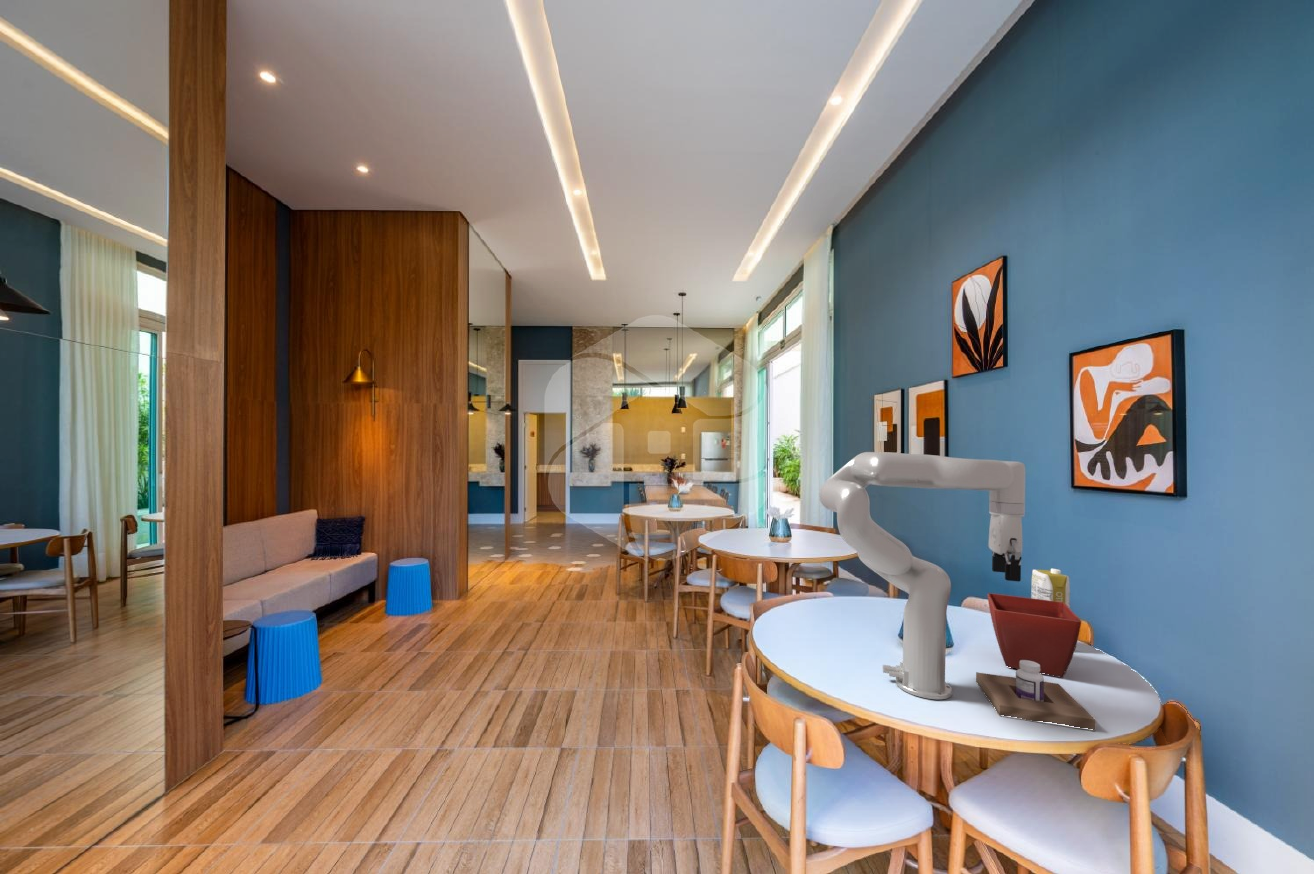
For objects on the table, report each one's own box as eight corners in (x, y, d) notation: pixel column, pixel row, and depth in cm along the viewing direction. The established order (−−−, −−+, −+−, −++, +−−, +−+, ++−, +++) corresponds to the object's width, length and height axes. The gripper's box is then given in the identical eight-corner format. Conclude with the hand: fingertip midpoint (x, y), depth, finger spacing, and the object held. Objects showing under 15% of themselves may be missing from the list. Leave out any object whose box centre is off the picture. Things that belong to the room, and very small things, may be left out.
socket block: (999, 716, 116) (999, 704, 116) (976, 681, 133) (976, 672, 133) (1095, 731, 110) (1095, 719, 110) (1058, 693, 128) (1058, 683, 128)
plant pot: (993, 670, 141) (994, 608, 141) (986, 646, 158) (987, 592, 158) (1081, 686, 132) (1082, 621, 132) (1064, 660, 149) (1064, 602, 149)
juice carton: (1073, 652, 155) (1074, 573, 155) (1044, 650, 156) (1045, 571, 157) (1054, 641, 164) (1055, 566, 165) (1027, 638, 165) (1028, 564, 166)
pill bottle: (1031, 698, 125) (1032, 658, 125) (1049, 710, 119) (1049, 668, 119) (1010, 698, 124) (1010, 658, 125) (1026, 709, 119) (1027, 667, 119)
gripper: (979, 504, 140) (978, 567, 140) (1001, 512, 124) (1000, 582, 124) (1011, 506, 138) (1010, 570, 138) (1037, 514, 122) (1036, 586, 121)
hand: (1005, 576), depth 131 cm, fingers open, 9 cm apart
